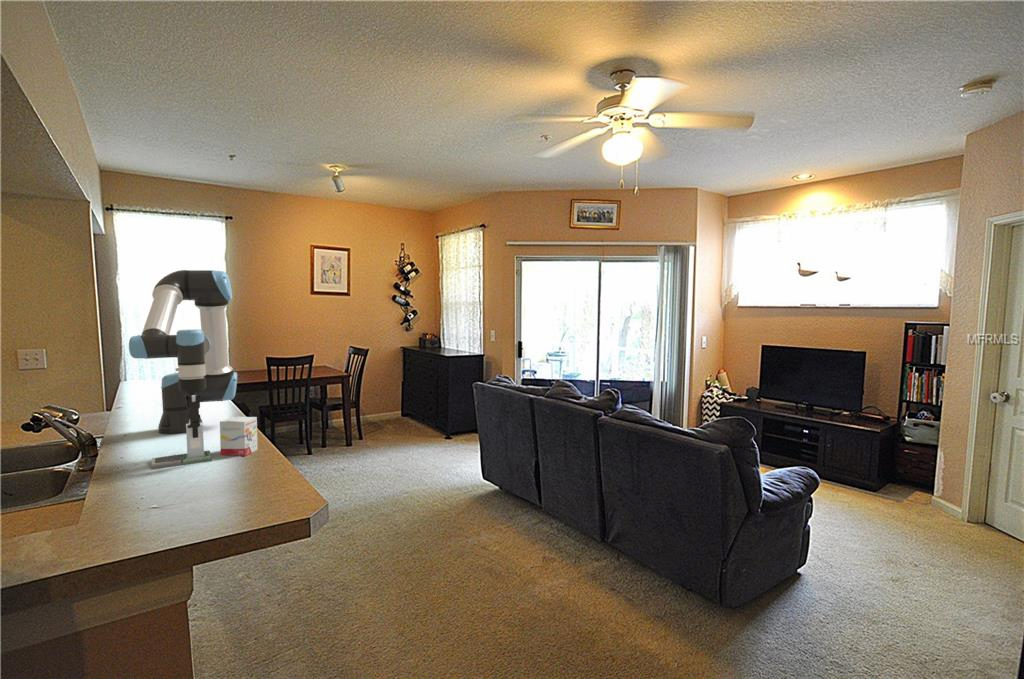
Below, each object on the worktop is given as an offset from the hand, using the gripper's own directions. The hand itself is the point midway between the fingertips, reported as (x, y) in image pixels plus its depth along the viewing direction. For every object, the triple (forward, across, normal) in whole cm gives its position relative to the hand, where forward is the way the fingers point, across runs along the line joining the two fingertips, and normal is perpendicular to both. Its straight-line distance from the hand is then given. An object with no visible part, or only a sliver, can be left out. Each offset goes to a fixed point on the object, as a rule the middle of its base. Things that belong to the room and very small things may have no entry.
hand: (195, 443), depth 166 cm
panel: (+5, 0, -4) cm, 7 cm away
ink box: (+6, -1, +13) cm, 14 cm away
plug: (+5, 0, 0) cm, 5 cm away
